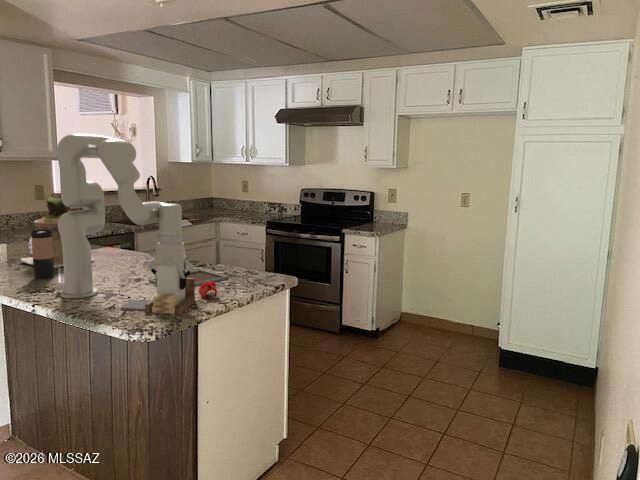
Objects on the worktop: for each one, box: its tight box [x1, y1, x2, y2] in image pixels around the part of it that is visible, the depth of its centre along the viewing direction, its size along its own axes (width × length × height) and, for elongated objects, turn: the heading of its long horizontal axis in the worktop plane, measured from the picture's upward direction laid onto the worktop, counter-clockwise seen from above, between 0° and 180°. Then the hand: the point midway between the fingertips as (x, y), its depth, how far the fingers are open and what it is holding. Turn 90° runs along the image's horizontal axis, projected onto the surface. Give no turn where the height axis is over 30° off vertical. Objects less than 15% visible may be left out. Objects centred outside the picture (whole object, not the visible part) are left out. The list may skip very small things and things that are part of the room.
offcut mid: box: [153, 300, 179, 309], centre depth 166 cm, size 8×4×2 cm, turn 82°
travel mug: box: [30, 230, 55, 280], centre depth 205 cm, size 8×8×20 cm
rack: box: [145, 278, 196, 316], centre depth 171 cm, size 12×15×9 cm
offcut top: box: [153, 293, 177, 303], centre depth 166 cm, size 6×4×2 cm, turn 79°
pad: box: [120, 299, 151, 311], centre depth 172 cm, size 9×9×1 cm
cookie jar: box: [19, 196, 96, 269], centre depth 232 cm, size 25×25×32 cm
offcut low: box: [151, 307, 176, 315], centre depth 166 cm, size 8×4×2 cm, turn 86°
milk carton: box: [156, 255, 185, 304], centre depth 171 cm, size 7×7×19 cm
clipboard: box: [148, 269, 230, 289], centre depth 208 cm, size 19×2×30 cm
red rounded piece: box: [198, 282, 218, 299], centre depth 186 cm, size 8×6×6 cm
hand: (171, 287), depth 172 cm, fingers closed on milk carton, 7 cm apart
